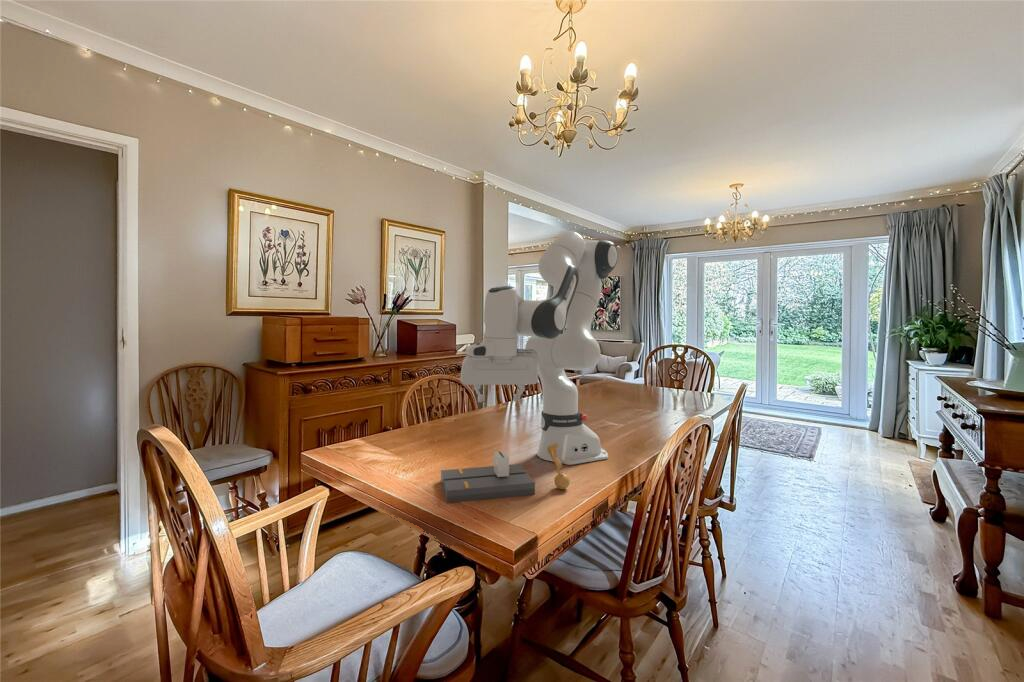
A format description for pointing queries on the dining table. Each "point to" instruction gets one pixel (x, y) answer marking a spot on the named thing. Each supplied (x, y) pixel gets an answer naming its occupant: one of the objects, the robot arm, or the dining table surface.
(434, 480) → the dining table surface
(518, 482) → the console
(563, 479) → the figurine
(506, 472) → the fader tab
